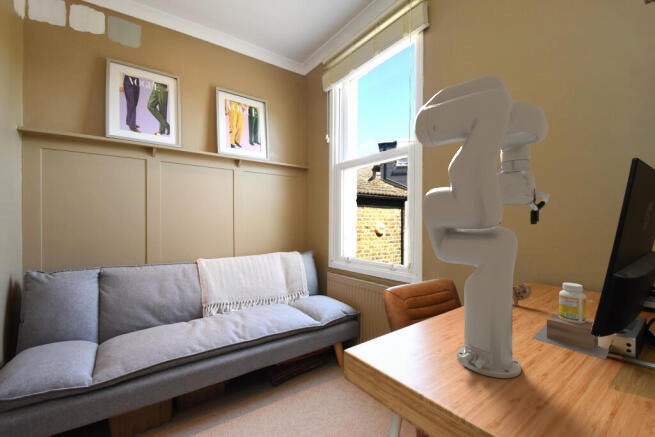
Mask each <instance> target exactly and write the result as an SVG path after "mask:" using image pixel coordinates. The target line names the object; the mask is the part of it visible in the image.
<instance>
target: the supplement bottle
mask: <svg viewBox="0 0 655 437" xmlns="http://www.w3.org/2000/svg"><path fill="white" fill-rule="evenodd" d="M583 286H584V285H582V284H579V283H574V282H562V290H560V291H559V294H558V312H559V317H560V319H562V320H564V321H567V322H571V323H585V321H586V317H587V316H586V314H587V313H586V311H587V296H586V294H584V293H583V291H584V288H583Z"/></svg>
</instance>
